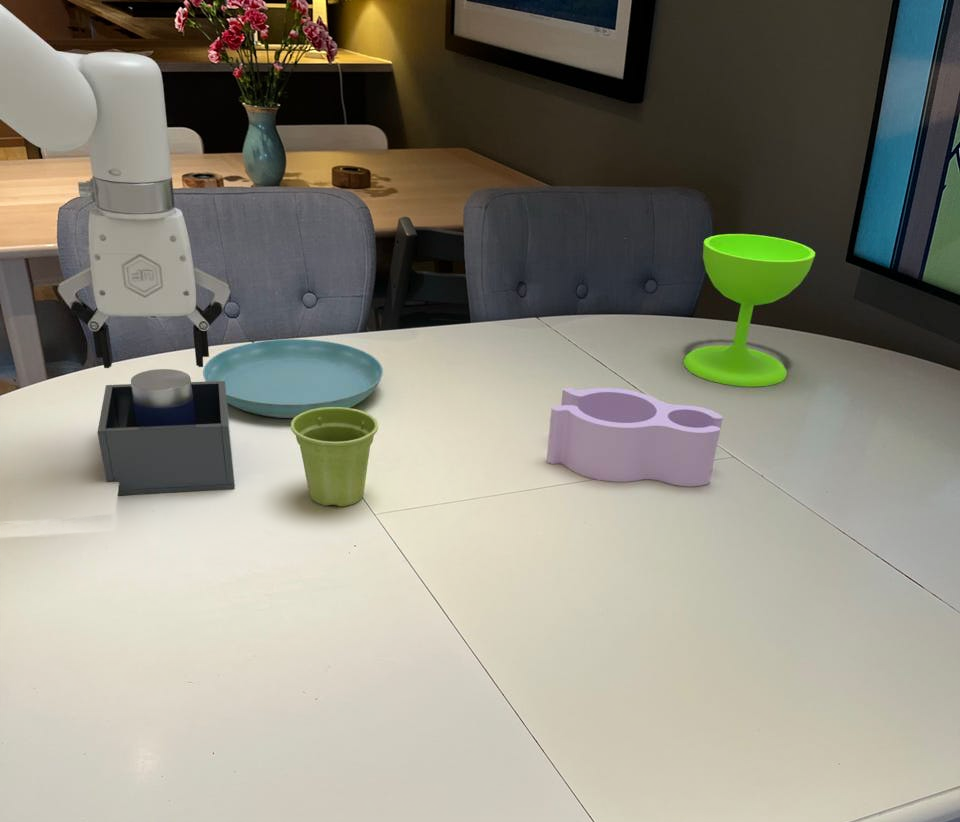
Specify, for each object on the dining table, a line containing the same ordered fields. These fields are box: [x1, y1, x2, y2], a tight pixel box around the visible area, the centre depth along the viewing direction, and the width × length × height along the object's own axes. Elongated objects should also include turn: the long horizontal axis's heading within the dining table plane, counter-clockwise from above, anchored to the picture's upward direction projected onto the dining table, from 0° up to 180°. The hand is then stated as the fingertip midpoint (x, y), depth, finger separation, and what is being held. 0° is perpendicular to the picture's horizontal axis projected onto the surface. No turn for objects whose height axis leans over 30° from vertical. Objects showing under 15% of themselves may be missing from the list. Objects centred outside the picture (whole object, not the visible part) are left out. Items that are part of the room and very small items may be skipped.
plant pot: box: [290, 407, 379, 507], centre depth 110 cm, size 9×9×9 cm
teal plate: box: [202, 338, 384, 419], centre depth 136 cm, size 24×24×3 cm
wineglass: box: [682, 233, 816, 388], centre depth 149 cm, size 16×16×18 cm
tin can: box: [130, 368, 197, 427], centre depth 113 cm, size 6×6×10 cm
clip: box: [546, 387, 724, 488], centre depth 121 cm, size 20×12×7 cm, turn 74°
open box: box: [97, 381, 236, 496], centre depth 114 cm, size 14×14×8 cm
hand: (154, 363), depth 109 cm, fingers open, 9 cm apart
